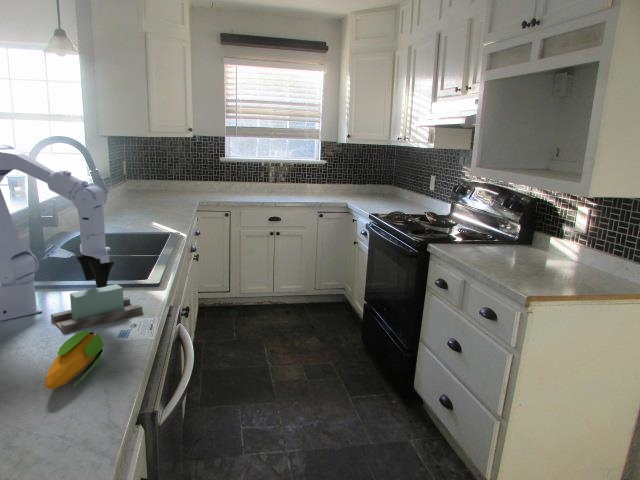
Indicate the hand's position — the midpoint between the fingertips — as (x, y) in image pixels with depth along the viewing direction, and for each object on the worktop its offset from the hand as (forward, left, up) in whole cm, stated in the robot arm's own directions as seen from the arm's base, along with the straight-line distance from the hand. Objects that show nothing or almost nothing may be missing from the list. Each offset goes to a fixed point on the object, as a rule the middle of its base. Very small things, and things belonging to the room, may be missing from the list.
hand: (96, 283), depth 123 cm
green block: (0, 0, -9) cm, 9 cm away
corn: (-15, -28, -10) cm, 33 cm away
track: (0, 0, -9) cm, 9 cm away
